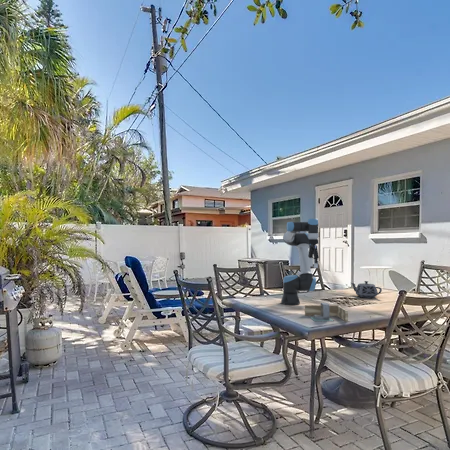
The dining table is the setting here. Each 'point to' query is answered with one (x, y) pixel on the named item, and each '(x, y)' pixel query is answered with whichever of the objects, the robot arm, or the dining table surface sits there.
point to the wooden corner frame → (333, 311)
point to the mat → (320, 320)
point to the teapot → (366, 290)
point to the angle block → (323, 312)
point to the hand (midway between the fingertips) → (313, 267)
